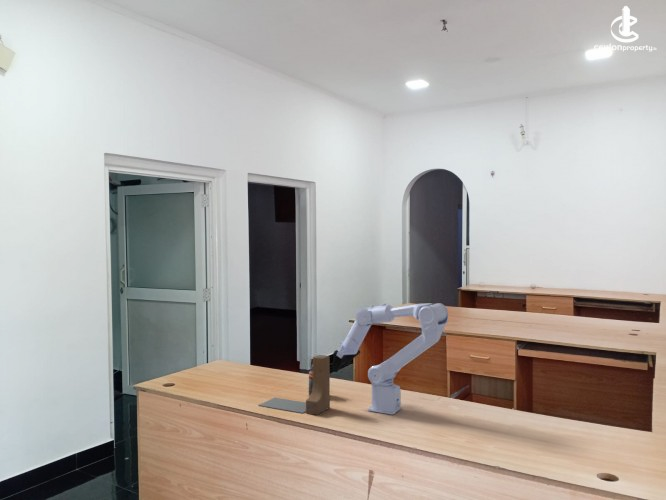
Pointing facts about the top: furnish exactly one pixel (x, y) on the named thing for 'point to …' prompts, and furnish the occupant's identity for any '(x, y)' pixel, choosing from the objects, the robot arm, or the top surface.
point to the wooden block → (319, 386)
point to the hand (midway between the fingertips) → (339, 367)
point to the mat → (285, 405)
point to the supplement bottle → (310, 380)
